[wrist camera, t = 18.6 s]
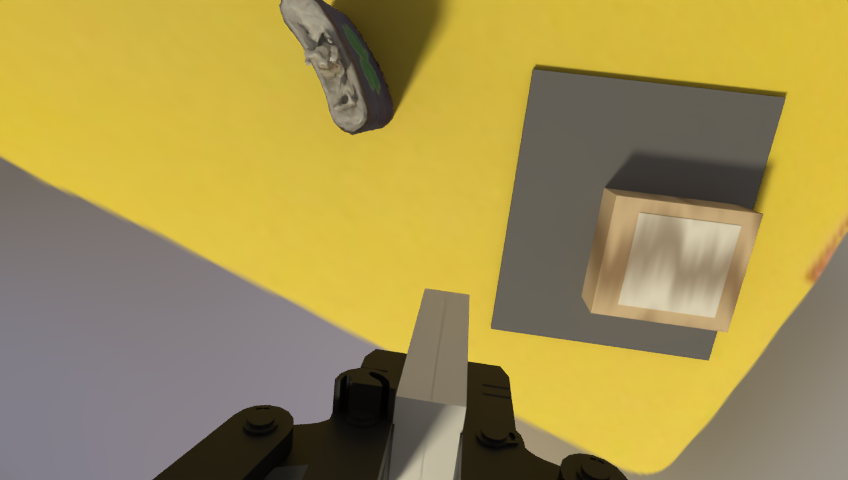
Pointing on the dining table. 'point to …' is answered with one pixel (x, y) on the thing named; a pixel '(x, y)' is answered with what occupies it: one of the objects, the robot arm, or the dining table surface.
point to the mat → (624, 170)
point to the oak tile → (669, 259)
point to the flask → (341, 65)
